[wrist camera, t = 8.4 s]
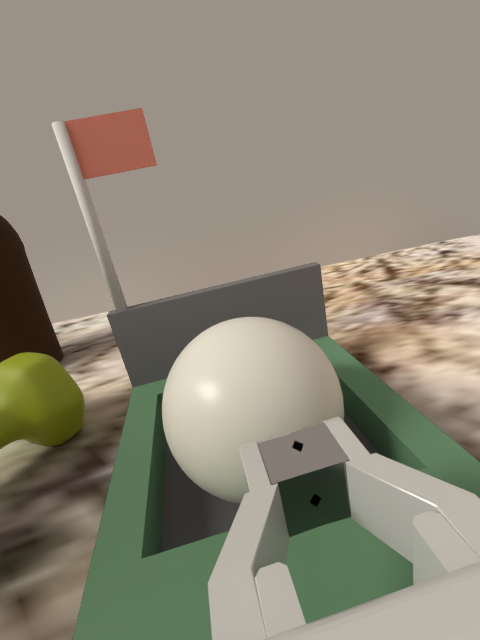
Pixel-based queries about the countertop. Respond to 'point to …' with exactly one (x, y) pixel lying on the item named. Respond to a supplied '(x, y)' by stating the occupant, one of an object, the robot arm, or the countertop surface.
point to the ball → (243, 397)
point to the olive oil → (21, 303)
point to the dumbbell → (38, 401)
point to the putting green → (171, 481)
